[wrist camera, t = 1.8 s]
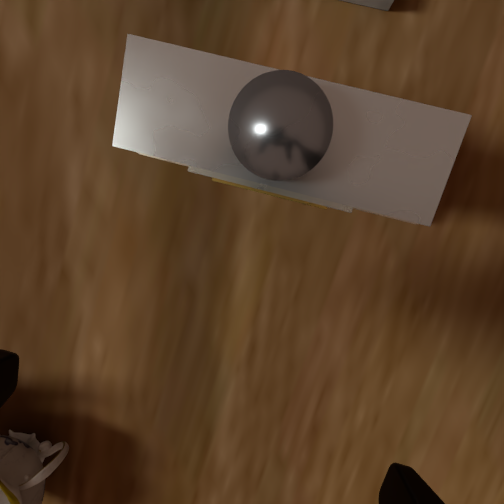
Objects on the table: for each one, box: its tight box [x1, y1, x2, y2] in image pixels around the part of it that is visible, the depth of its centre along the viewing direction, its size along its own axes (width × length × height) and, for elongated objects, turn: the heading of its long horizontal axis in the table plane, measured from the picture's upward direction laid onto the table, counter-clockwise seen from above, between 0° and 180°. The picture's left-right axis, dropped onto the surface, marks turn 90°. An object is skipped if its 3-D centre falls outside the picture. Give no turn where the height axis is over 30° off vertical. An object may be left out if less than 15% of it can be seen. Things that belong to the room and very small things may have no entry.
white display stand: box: [112, 34, 472, 226], centre depth 14 cm, size 14×4×9 cm, turn 76°
